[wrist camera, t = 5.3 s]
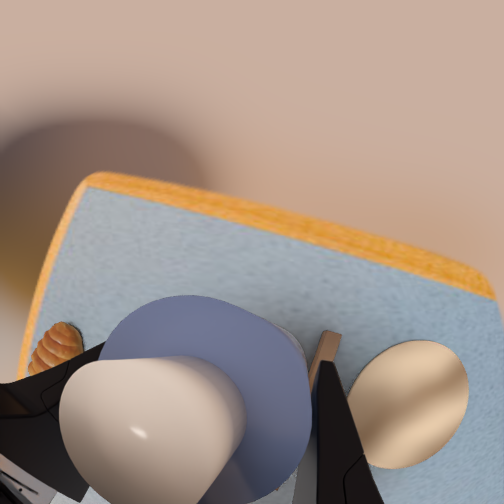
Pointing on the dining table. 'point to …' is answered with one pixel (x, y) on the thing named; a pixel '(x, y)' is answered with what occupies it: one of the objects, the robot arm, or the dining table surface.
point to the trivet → (408, 403)
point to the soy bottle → (189, 406)
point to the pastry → (55, 348)
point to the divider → (323, 354)
